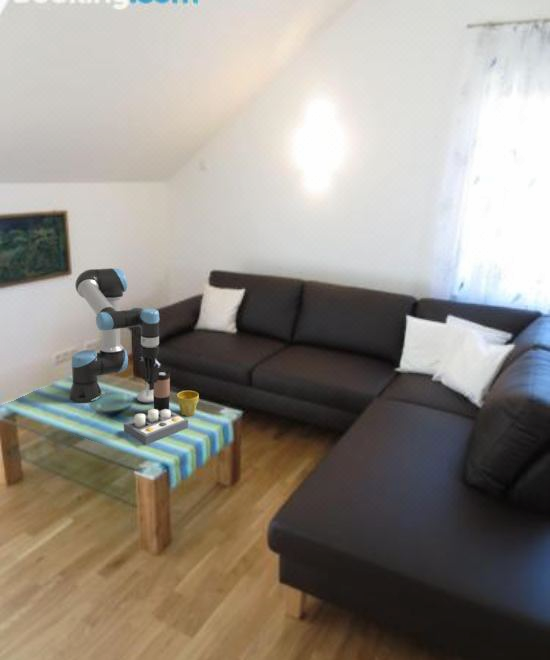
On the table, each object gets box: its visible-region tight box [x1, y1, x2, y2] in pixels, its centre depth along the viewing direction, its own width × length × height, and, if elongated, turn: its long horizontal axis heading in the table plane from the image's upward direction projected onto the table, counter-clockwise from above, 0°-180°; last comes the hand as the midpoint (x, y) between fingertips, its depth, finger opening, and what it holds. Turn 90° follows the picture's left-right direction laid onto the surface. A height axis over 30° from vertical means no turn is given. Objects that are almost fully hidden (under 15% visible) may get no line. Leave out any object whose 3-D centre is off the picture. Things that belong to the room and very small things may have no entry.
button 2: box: [147, 408, 158, 424], centre depth 222 cm, size 5×5×5 cm
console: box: [123, 411, 189, 446], centre depth 222 cm, size 16×23×4 cm
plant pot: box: [176, 390, 200, 417], centre depth 240 cm, size 10×10×10 cm
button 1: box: [134, 413, 146, 429], centre depth 217 cm, size 5×5×5 cm
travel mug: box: [153, 369, 171, 411], centre depth 238 cm, size 8×8×20 cm
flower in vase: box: [136, 387, 154, 403], centre depth 248 cm, size 13×11×25 cm
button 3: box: [160, 409, 172, 419], centre depth 228 cm, size 5×5×5 cm
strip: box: [140, 415, 186, 434], centre depth 219 cm, size 4×21×1 cm, turn 140°
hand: (149, 395), depth 218 cm, fingers closed
